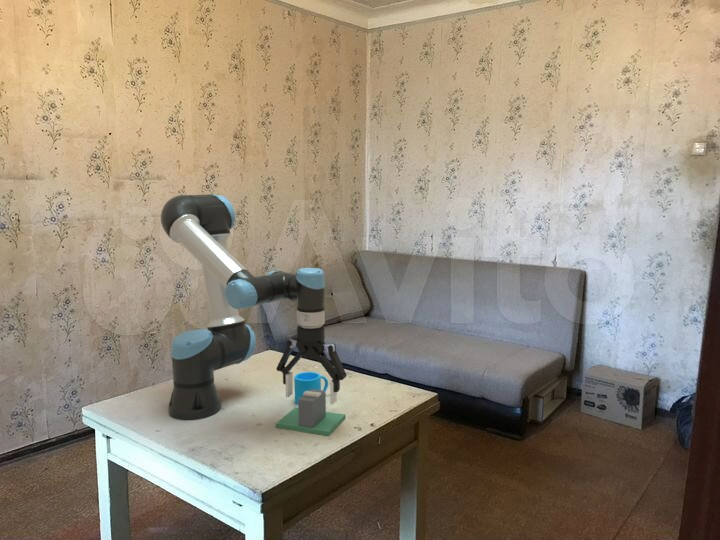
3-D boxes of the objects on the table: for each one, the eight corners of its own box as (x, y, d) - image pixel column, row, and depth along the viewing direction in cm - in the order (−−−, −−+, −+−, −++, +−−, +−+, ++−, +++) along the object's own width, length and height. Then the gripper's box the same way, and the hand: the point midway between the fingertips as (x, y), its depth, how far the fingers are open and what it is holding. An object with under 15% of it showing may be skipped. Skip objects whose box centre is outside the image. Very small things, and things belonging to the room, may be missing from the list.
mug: (305, 408, 164) (304, 382, 163) (289, 401, 170) (289, 376, 169) (335, 398, 172) (335, 373, 171) (320, 391, 178) (319, 367, 177)
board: (275, 427, 151) (275, 411, 150) (295, 411, 162) (295, 396, 161) (328, 435, 145) (328, 419, 145) (345, 418, 157) (345, 402, 156)
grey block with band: (298, 425, 149) (297, 397, 148) (311, 414, 157) (311, 386, 156) (313, 428, 147) (313, 399, 146) (326, 416, 155) (325, 388, 154)
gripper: (263, 323, 149) (264, 397, 152) (348, 333, 141) (347, 410, 144) (277, 317, 156) (277, 388, 159) (358, 326, 148) (357, 400, 151)
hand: (311, 399), depth 152 cm, fingers open, 13 cm apart
